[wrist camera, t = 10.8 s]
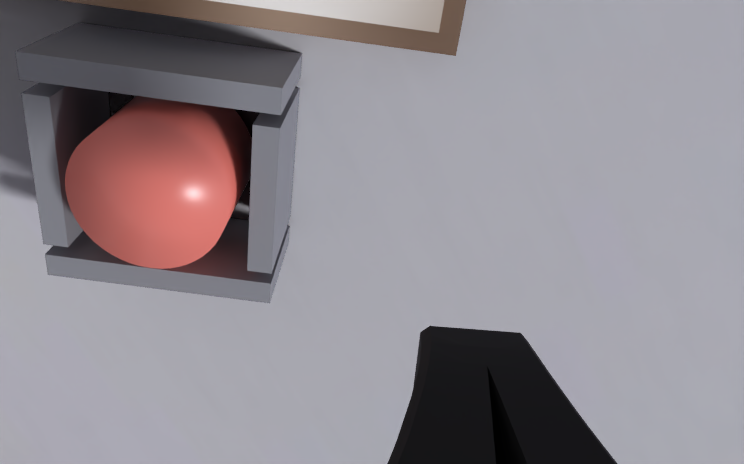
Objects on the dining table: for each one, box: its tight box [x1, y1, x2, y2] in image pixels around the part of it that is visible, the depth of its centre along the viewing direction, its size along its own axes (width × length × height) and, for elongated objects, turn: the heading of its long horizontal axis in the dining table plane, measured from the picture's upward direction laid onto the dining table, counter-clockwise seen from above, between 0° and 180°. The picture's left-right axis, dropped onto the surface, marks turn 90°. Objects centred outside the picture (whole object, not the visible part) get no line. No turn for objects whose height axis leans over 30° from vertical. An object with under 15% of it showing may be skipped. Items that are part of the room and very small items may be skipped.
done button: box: [65, 96, 252, 269], centre depth 16 cm, size 4×4×3 cm
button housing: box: [15, 23, 302, 303], centre depth 16 cm, size 6×6×3 cm
